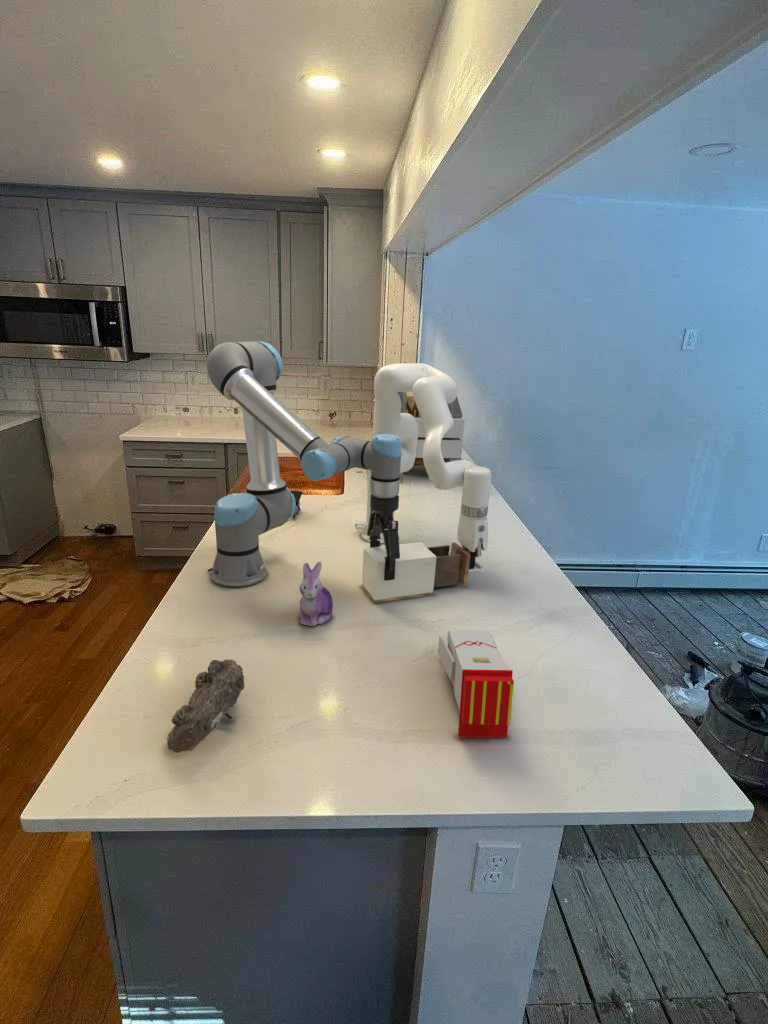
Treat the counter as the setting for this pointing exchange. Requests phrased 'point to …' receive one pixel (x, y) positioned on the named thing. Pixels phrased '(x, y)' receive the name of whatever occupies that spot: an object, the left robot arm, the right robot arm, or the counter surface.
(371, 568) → the cabinet
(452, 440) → the transformer
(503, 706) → the toy
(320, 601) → the figurine
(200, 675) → the fossil
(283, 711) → the counter surface
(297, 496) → the figurine character
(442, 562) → the drawer
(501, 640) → the counter surface
